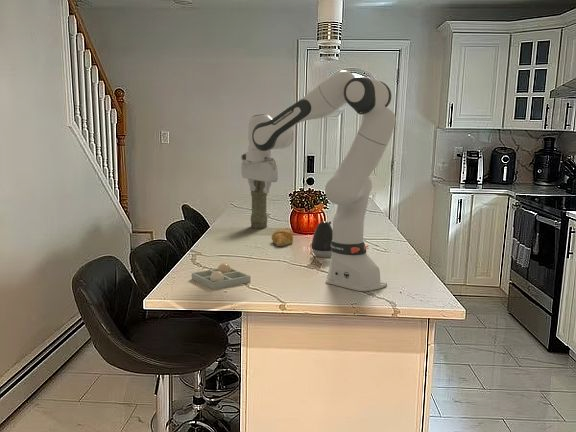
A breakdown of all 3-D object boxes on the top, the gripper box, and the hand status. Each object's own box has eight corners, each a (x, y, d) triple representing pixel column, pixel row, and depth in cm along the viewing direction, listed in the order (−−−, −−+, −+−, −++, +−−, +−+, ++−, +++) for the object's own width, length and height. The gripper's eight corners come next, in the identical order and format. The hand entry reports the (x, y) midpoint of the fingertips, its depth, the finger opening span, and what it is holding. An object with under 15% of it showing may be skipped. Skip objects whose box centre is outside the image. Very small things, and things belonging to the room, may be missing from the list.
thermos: (268, 225, 304) (268, 161, 298) (266, 229, 293) (266, 162, 287) (252, 224, 305) (252, 161, 299) (249, 228, 293) (249, 162, 287)
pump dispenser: (339, 255, 237) (340, 220, 234) (327, 260, 228) (328, 224, 226) (319, 252, 242) (320, 218, 240) (306, 257, 234) (307, 221, 231)
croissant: (285, 255, 250) (293, 240, 249) (265, 244, 251) (274, 229, 249) (290, 244, 271) (298, 230, 269) (273, 234, 271) (280, 220, 269)
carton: (250, 284, 194) (250, 275, 193) (213, 291, 185) (212, 283, 184) (227, 274, 205) (227, 266, 205) (191, 281, 196) (191, 273, 196)
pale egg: (226, 285, 189) (226, 271, 189) (214, 287, 187) (214, 273, 186) (219, 281, 193) (219, 268, 192) (207, 284, 190) (207, 270, 189)
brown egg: (233, 276, 200) (233, 263, 199) (222, 278, 197) (221, 265, 196) (226, 274, 203) (226, 261, 203) (215, 276, 201) (214, 263, 200)
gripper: (281, 157, 210) (281, 194, 212) (251, 154, 226) (251, 188, 228) (268, 158, 206) (268, 195, 208) (238, 155, 222) (238, 189, 224)
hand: (259, 191), depth 218 cm, fingers open, 8 cm apart
